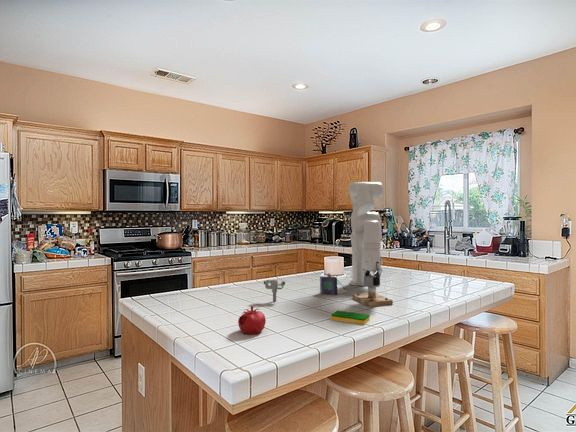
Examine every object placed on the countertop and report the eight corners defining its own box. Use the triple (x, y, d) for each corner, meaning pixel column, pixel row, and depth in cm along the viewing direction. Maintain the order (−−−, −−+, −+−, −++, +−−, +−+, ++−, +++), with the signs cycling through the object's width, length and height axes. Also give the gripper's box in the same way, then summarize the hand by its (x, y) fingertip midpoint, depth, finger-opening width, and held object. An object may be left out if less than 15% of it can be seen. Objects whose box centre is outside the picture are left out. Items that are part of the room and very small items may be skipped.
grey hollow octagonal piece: (361, 284, 173) (361, 275, 173) (374, 283, 175) (374, 274, 175) (369, 287, 166) (369, 278, 166) (382, 286, 168) (382, 277, 168)
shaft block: (352, 298, 176) (352, 276, 176) (374, 296, 180) (374, 274, 180) (369, 306, 161) (369, 282, 161) (392, 304, 165) (392, 280, 165)
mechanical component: (284, 302, 169) (284, 281, 169) (263, 301, 171) (263, 281, 171) (285, 301, 172) (285, 280, 172) (265, 300, 174) (264, 279, 174)
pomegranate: (265, 327, 135) (266, 302, 135) (265, 336, 125) (265, 309, 125) (239, 327, 134) (239, 302, 134) (236, 335, 124) (236, 309, 124)
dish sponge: (337, 315, 149) (337, 310, 149) (369, 320, 142) (369, 314, 142) (330, 320, 143) (330, 314, 143) (364, 325, 136) (364, 319, 136)
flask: (319, 293, 187) (319, 273, 187) (321, 292, 190) (321, 272, 190) (336, 295, 183) (336, 274, 183) (338, 294, 186) (338, 273, 186)
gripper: (355, 245, 177) (356, 281, 178) (374, 248, 161) (374, 288, 161) (369, 244, 180) (369, 280, 180) (389, 248, 163) (389, 286, 163)
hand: (371, 283), depth 170 cm, fingers closed on grey hollow octagonal piece, 7 cm apart
